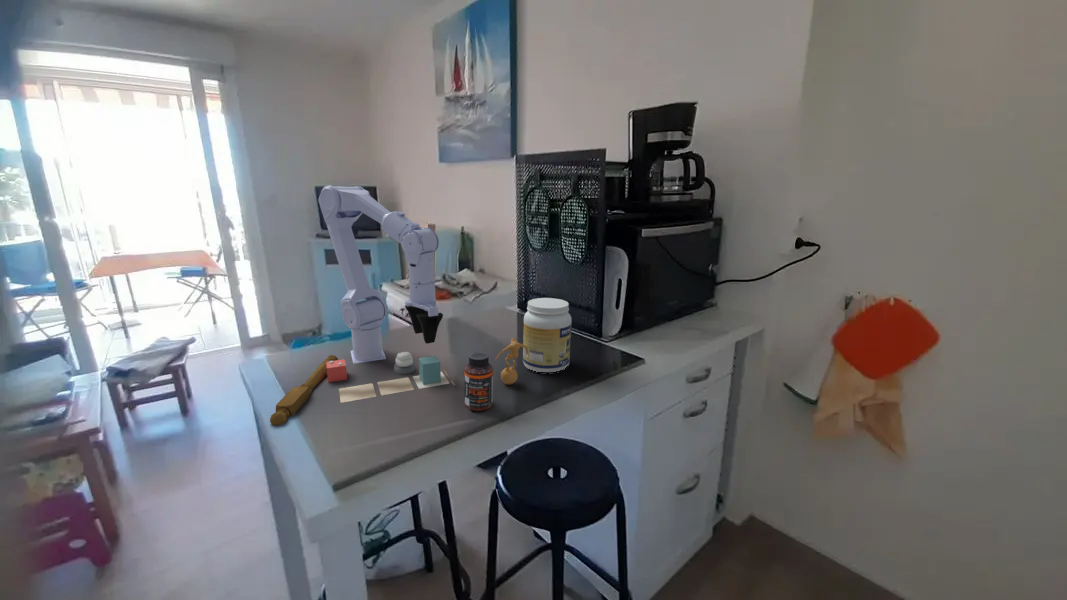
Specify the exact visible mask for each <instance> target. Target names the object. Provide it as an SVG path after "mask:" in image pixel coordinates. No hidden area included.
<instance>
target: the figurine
mask: <svg viewBox="0 0 1067 600" xmlns="http://www.w3.org/2000/svg"><path fill="white" fill-rule="evenodd" d="M520 348H522V349H523V348H526V354H528V347H527V346H526V345H523V343H520V342H518V341H517V340H516V338H515V337H511V340H510V344H509V345H508V346H507V347H504V348H503V349H502V350H501V351H500V352H499V353H498V354H497V356H496V357H495V361H496V360H497V358H499V357H500V356H501V355H503V353H504V352H506V351H508V350H509V351H510V353H507V356H506V357H505V362H506V365H507V367H504V369H502V370H501V372H500V379H501V382H503V384H505V385H513V384H514V383H516V381H517V379H518V375H519V374H518V371H517V370H516V369H515V368H516V364H517V361H516V359H517V358H518V357H519V350H520ZM511 359H512V363H513V365H512V366H510V365H511V363H510V360H511Z"/></svg>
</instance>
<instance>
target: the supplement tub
mask: <svg viewBox="0 0 1067 600" xmlns="http://www.w3.org/2000/svg"><path fill="white" fill-rule="evenodd" d="M569 304H570V303H569V302H568V301H566V300H564V299H560V298H553V297H540V298H539V297H537V298H532V299H530V300H528V301H527V307H526V310H527V311H526V312H525V314H524V316H523V337H522V338H523V339H522V340H523V343H522V344H523V345H526V346H527V347H528V354H526V348H523V347H522V362H523V365H524V366H525V368H527V369H528V370H529V369H530V371H531V370H533V371H532V372H534V371H536V372H535V373H537V372H556V371H560V370H563V369H564V370H566V369H567V368H568V367H569V365H570V360H571V359H570V356H571V337H572V335H571V334H572V319H573V318H572V316H571V314H570V313H569V311H570V308H569V307H570V305H569ZM567 366H568V367H567ZM566 367H567V368H566ZM565 368H566V369H565ZM564 370H563V371H564Z"/></svg>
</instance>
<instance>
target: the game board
mask: <svg viewBox="0 0 1067 600" xmlns="http://www.w3.org/2000/svg"><path fill="white" fill-rule="evenodd" d="M441 370H442V371H440V373H441V382H437V383H431V384H426V385H423V383H422V381H421V380H420V376H419V374H418V375H413V376H412V378H413V380H414V382H415V384H416V386H417V388H418V390H421V389H425V388H432V387H437V386H438V387H439V386H443V385H448V384H450V382H451V384H452V385H453V387H454V388H457V386H456V384H455V382H454V381H453V379H452V378H451V377H450V376H449V373H447V371H446V370H445V368H443V369H441ZM443 372H444V373H443ZM449 381H450V382H449ZM376 384H377V386H378V389H379V393H380V395H381V397H383V396H387V395H388V396H389V395H393V394H398V393H405V392H409V391H414V390H415V388H414V386H413V384H412V381H411V380H410V378H409V377H408V376H407V377H406V376H405V377H401V378H397V379H396V378H395V379H390V380H383V381H378V382H377V381H376ZM338 392H339V393H338V394H339V399H340V400H339V401H340V404H344V403H349V402H355V401H359V400H366V399H371V398H377V394H376V390H375V387H374V384H373V383H366V384H359V385H354V386H347V387H341V388H338Z"/></svg>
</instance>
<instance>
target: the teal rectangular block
mask: <svg viewBox="0 0 1067 600" xmlns="http://www.w3.org/2000/svg"><path fill="white" fill-rule="evenodd" d="M418 371H419V372H418V373H419V374H418V375H419V376H420V380H421V381H422V383H423V385H426V384H431V383H437V382H441V373H440V372H441V361H440V360H439V358H438V357H437V355H431V356H426V357H425V356H424V357H423V356H422V357H418Z"/></svg>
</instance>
